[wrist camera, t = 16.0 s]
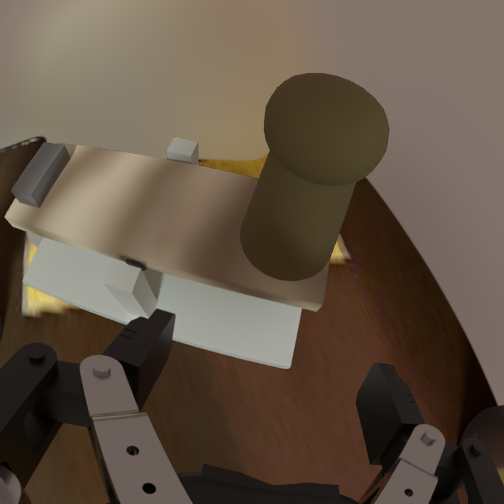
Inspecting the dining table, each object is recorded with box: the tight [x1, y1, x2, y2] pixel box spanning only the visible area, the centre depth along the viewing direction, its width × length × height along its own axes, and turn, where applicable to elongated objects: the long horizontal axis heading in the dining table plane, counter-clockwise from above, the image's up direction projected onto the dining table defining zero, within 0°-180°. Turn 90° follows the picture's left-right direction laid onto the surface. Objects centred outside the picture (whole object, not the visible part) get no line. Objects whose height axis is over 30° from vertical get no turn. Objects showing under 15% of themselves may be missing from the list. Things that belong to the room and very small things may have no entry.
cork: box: [240, 73, 389, 281], centre depth 16 cm, size 6×6×11 cm
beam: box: [5, 142, 329, 311], centre depth 21 cm, size 24×8×4 cm, turn 77°
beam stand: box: [23, 137, 302, 369], centre depth 24 cm, size 24×14×8 cm, turn 77°
